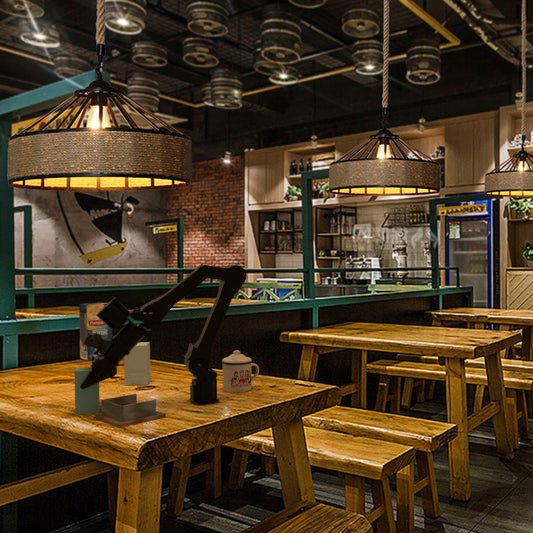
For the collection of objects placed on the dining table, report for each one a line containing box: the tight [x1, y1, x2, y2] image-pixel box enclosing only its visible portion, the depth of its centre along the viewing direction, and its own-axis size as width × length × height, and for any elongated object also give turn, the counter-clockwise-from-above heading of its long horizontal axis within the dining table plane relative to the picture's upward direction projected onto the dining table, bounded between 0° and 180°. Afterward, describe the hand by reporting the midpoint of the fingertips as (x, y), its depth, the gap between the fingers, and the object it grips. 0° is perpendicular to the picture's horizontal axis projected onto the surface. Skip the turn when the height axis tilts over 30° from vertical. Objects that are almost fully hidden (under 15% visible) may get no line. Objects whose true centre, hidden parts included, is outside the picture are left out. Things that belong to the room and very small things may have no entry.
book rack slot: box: [93, 393, 166, 429], centre depth 147 cm, size 13×12×4 cm
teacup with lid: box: [221, 350, 260, 393], centre depth 178 cm, size 12×9×12 cm
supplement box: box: [123, 341, 152, 386], centre depth 189 cm, size 7×7×13 cm
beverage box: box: [78, 302, 113, 361], centre depth 241 cm, size 7×11×22 cm, turn 133°
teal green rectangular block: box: [74, 366, 101, 415], centre depth 154 cm, size 6×5×11 cm
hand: (81, 386), depth 154 cm, fingers closed on teal green rectangular block, 5 cm apart
